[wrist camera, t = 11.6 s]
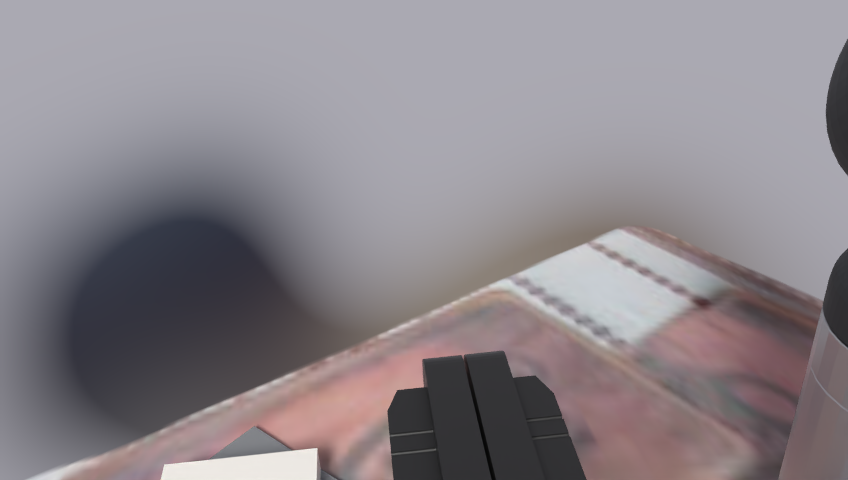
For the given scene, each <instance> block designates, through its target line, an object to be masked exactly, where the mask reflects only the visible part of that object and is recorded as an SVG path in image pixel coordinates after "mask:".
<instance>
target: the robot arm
mask: <svg viewBox="0 0 848 480" xmlns="http://www.w3.org/2000/svg"><path fill="white" fill-rule="evenodd" d="M826 121H827V132H828V136H829V140H830V144H831V147H832V150H833V152H834V154H835V157H836V159H837V161H838V163H839V165H840V166H841V167H842V169H843V170H844V171H845V173H846V174H847V175H848V40H847V41H846V43H845V45H844V47H843V49H842V52H841V53H840V55H839V58H838V60H837V63H836V65H835V69H834V71H833V74H832V77H831V81H830V85H829V90H828V96H827V104H826ZM423 381H424V388H414V389H404V390H397V392H396V394H395V396H394V398H393V401H392V403H391V405H390V407H389V409H388V422H389V433H390V444H391V455H392V467H393V478H394V480H586V477H585V475H584V472H583V469H582V467H581V464H580V462H579V459H578V456H577V454H576V451H575V448H574V446H573V443H572V440H571V438H570V437H569V434H568V430H567V427H566V425H565V422H564V419H562V414H561V411H560V409H559V406H558V404H557V401H556V398H555V396H554V393H553V392H552V391H551V390H550V389H549V388H548V387H547V386H545V385H544V384H543V383H542V382H541V381H540V380H539V379H538V378H537V377H536V376H527V377H517V378H513V377H512V374H511V371H510V368H509V365H508V361H507V358H506V355H505V353H504V351H496V352H486V353H476V354H467V355H464V360H463V358H462V355H458V356H449V357H439V358H429V359H423ZM778 480H848V249H847V250H846V251H845V252H844V253H843V254H842V255H841V256H840V257H839V259H838V260H837V262H836V263H835V265H834V267H833V270H832V272H831V275H830V278H829V282H828V286H827V290H826V294H825V298H824V302H823V307H822V310H821V314H820V318H819V322H818V326H817V329H816V333H815V337H814V341H813V345H812V349H811V353H810V358H809V362H808V366H807V370H806V373H805V377H804V381H803V385H802V389H801V393H800V397H799V401H798V404H797V408H796V412H795V416H794V420H793V424H792V428H791V431H790V435H789V439H788V443H787V447H786V451H785V455H784V458H783V462H782V466H781V470H780V474H779V478H778Z"/></svg>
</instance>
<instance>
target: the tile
mask: <svg viewBox="0 0 848 480" xmlns="http://www.w3.org/2000/svg"><path fill="white" fill-rule="evenodd" d="M161 480H321V468H320V461H319V455H318V449H317V448H313V449H304V450H295V451H286V452H276V453H267V454H258V455H249V456H240V457H231V458H221V459H212V460H203V461H194V462H185V463H176V464H166V465H164V469H163V473H162V477H161Z"/></svg>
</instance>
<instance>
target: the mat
mask: <svg viewBox="0 0 848 480" xmlns="http://www.w3.org/2000/svg"><path fill="white" fill-rule="evenodd" d="M286 451H292V450H291V449H289V448H288V447H286V446H284V445H283V444H281V443H280V442H278V441H277V440H275V439H274V438H272V437H271V436H269V435H267V434H266V433H264V432H263V431H261V430H260V429H258V428H257V427H255V426H254V427H252V428H251V429H250V430H248V431H247V432H245V433H244V434H243V435H241V436H240V437H239V438H237V439H236V440H235V441H233V442H232V443H231V444H229V445H228V446H226V447H225V448H224V449H222V450H221V451H220V452H218V453H217V454H216V455H214V456H213V457H211V458H210V459H209V460H212V459H221V458H231V457H240V456H249V455H258V454H267V453H276V452H286ZM321 480H337V479H336V478H334V477H333V476H331V475H329V474H328V473H326V472H325V471H323V470H322V469H321Z"/></svg>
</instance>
